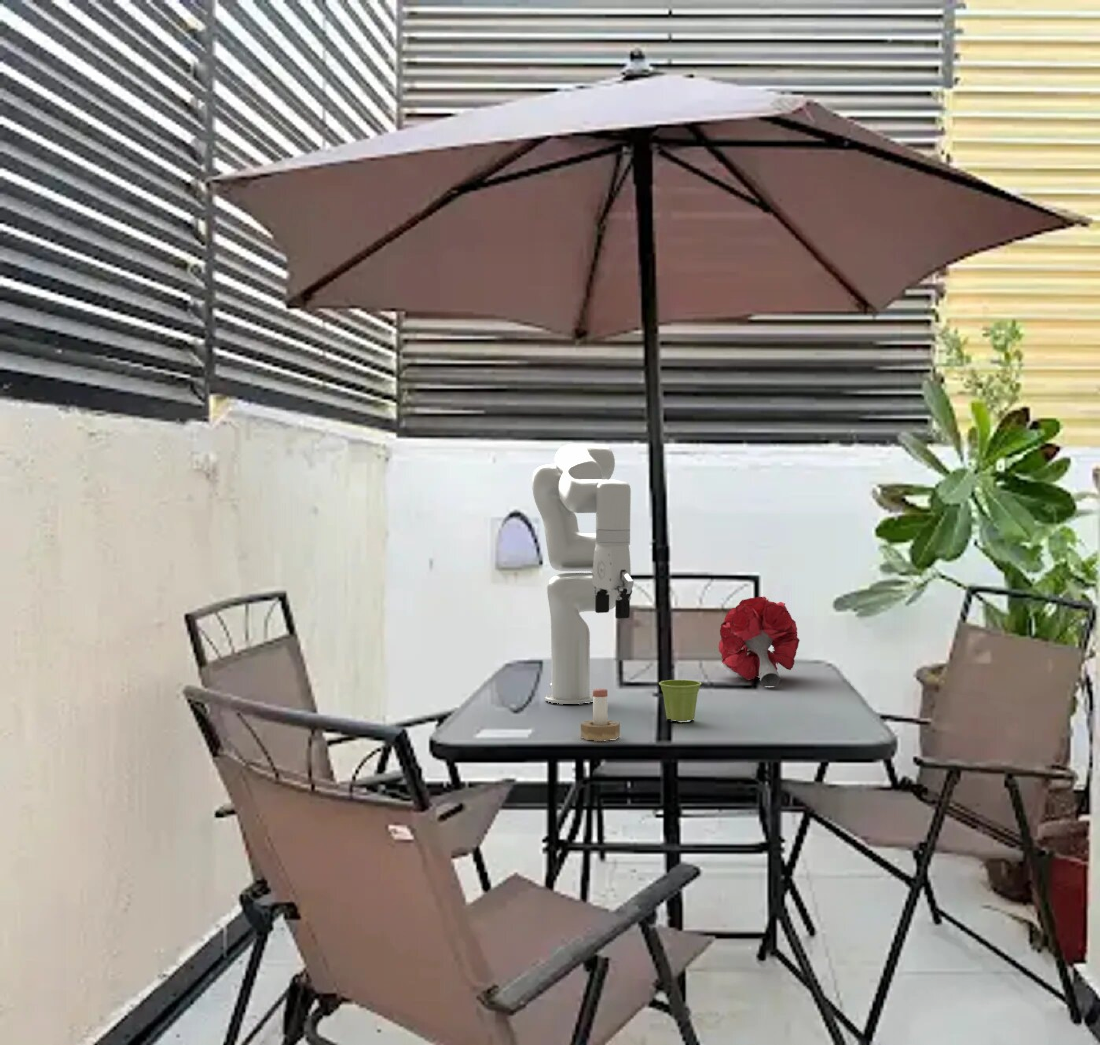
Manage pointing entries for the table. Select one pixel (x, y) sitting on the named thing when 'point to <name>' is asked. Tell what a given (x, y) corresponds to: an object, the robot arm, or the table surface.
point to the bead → (600, 731)
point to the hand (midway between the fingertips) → (612, 615)
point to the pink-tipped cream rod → (600, 707)
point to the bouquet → (758, 639)
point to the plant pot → (680, 698)
